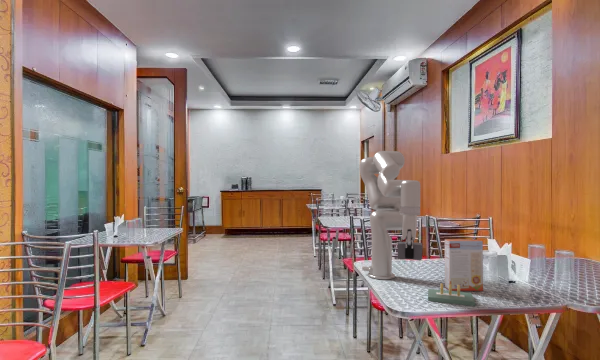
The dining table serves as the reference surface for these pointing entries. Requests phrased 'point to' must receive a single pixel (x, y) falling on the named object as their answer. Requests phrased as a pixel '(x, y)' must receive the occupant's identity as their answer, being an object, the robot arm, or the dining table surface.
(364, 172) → the robot arm
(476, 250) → the cracker box
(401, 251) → the block
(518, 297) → the dining table surface
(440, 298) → the header board
